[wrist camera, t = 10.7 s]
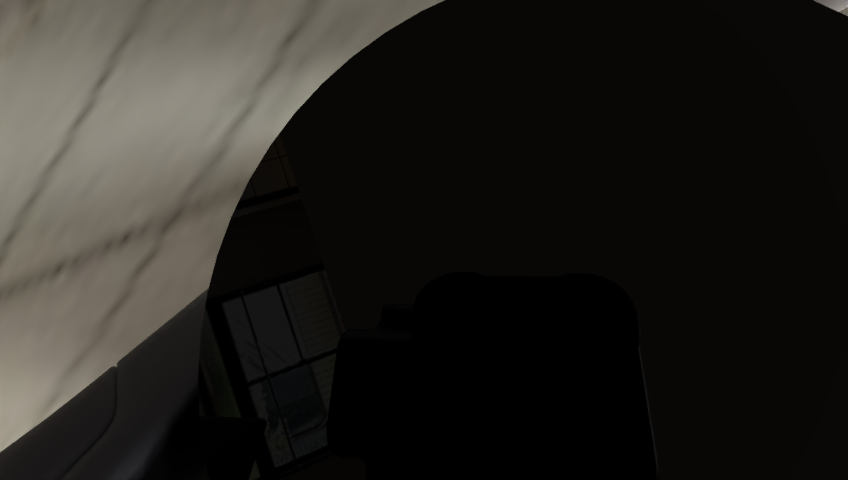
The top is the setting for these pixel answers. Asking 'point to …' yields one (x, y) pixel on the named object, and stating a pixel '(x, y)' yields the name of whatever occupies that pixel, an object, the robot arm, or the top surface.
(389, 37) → the supplement container
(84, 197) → the top surface
